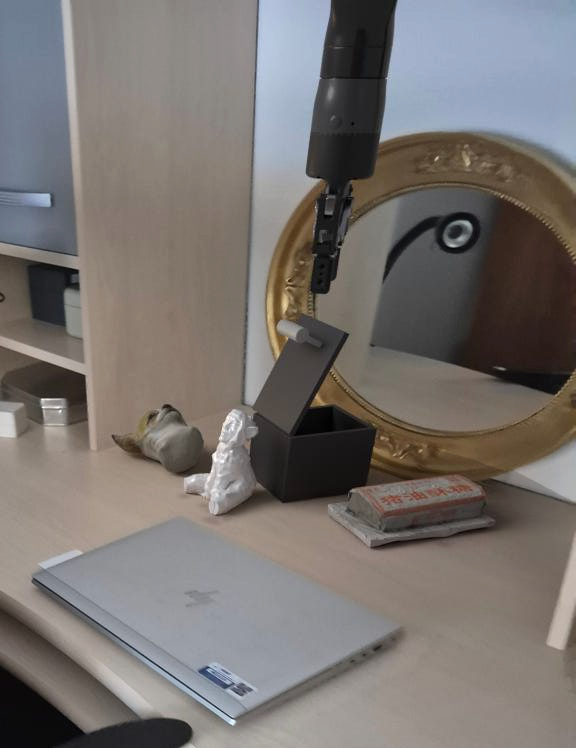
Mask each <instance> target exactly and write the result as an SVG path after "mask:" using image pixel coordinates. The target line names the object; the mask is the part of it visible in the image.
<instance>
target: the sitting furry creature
mask: <svg viewBox="0 0 576 748" xmlns="http://www.w3.org/2000/svg"><path fill="white" fill-rule="evenodd" d="M255 424H256V423H255V422H253V416H251V415H249V414H247V413H246V412H244V411H243V410H238V409H237V408H234V409H232V410H231V411H230V412H229V413H228V414H227V416H225V421H224V422H223V423H222V428H221V431H220V436H219V437H218V441H219V443H218V445H217V446H216V451H214V452H213V453H212V455H211V457H212V459H211V460H212V465H211V470H210V472H208V473H206V472H205V473H194V474H192V475H189V476H187V477H184V478H183V490H184V492H185V493H186V494H197V495H199V496H201V497H203V498H204V499H205V500H207V501H209V502H208V510H209V513H210V514H211V515H213V516H217V515H218V516H219V515H222V514H227V513H228V511H231V510H232V509H234V508H236V507H238V506H239V505H241V504H242V503H243V502H245V501H247V500H248V499H249V498H250V497H252V496H253V492H254V490H255V489H256V486H257V484H258V482H257V480H256V477H255V473H254V472H253V468H252V467H251V463H250V456H249V450H248V449H247V447H246V446H245V445H247V444H248V443H249V442H251V438H253V437H255V435H257V434H258V427H255Z"/></svg>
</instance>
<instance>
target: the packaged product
mask: <svg viewBox="0 0 576 748" xmlns="http://www.w3.org/2000/svg"><path fill="white" fill-rule="evenodd" d="M486 496H487V493H486V492H485V490H484V488H483V487H482V486H481V485H480V484H477V483H476V482H473V481H472V480H470V479H469V478H467V477H465V476H463V475H461V474H457V473H456V474H447V475H439V476H432V477H423V478H417V479H409V480H402V481H396V482H395V481H394V482H388V483H381V484H373V485H366V486H365V487H358V488H354V489H352V490H351V491H349V493H348V494H347V501H344V502H343V501H342V502H337V503H336V502H335V503H328V504H327V515H328V516H329V517H330V518H331V519H333V520H334V521H336V522H337V523H338V524H340V525H341V526H343V527H344V528H345V529H347V530H348V531H349V532H351V533H352V534H354V535H355V536H356V537H357V538H358V539H359V540H361V541H362V542H363V543H364V544H365V545H366V546H367V547H368V548H373V547H378V546H381V545H386V544H389V543H392V542H404V541H411V540H418V539H419V540H420V539H426V538H427V539H429V538H447V537H450V536H453V535H454V534H457V533H460V532H465V531H466V532H467V531H470V530H475V529H481V528H491V527H493V526H495V524H496V520H495V519H494V518H492V517H490V516H488V515H487V514H485V513H483V512H484V511H485V510H486V508H487V505H488V504H487V500H486Z"/></svg>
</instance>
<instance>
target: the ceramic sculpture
mask: <svg viewBox="0 0 576 748" xmlns="http://www.w3.org/2000/svg"><path fill="white" fill-rule="evenodd" d="M110 436H111V439H112V441H113V442H114V443H115V445H117V446H118V447H119V448H120V449H122V450H123V451H124V452H127V453H129V454H142V455H144V456H146V457H148V458H149V459H152V460H154V461H157V462H160V464H161V465H162V467H163V468H164V469H165V470H166V471H167V472H172V473H173V472H174V473H184V472H187V470H189V469H191V468H193V467H194V466H196V465H197V463H198V462H199V461H200V458H201V457H202V454H203V449H204V444H205V440H204V439H203V438H204V437H203V435H202V432H201V431H200V430H199V428H198V427H197V426H193V425H192V426H190V425H189V426H188V424H187V422H186V420H185V419H184V418H183V414H182V413H181V412H180V410H179V409H177V408H175V407H173V405H172V404H169V403H165V404H163V405H162V407H161V408H157V409H152V410H149V411H147V412H146V413H145V414H143V415H142V416H141V418H140V419H139V421H138V425H137V429H136V431H135V433H134V432H128V433H124V434H122V435H119V434H111V435H110Z"/></svg>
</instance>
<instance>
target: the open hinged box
mask: <svg viewBox="0 0 576 748" xmlns="http://www.w3.org/2000/svg"><path fill="white" fill-rule="evenodd" d="M252 419H253V422H255V423H256V424H255V427H258V434H257V435H255V437H253V438H251V439H250V444H249V452H248V454H249V456H250V463H251V467H252V468H253V472H254V473H255V477H256V480H257V484H260V486H262V487H263V488H264V489H265V490H266V491H268V492H269V493H270V494H271V495H272V496H273V497H275V498H276V499H277V500H278V501H280V502H281V503H282V504H285V503H291V502H298V501H304V500H311V499H318V498H326V497H327V498H328V497H333V496H341V495H348V493H349V491H351V490H352V489H354V488H358V487H365V486H367V484H368V478H369V474H370V468H371V464H372V458H373V457H372V456H373V452H374V447H375V441H376V437H377V432H378V428H376V427H375V426H374V425H372V424H370V423H368V422H366V421H365V420H363V419H362V418H359V417H358V416H357V415H354V414H353V413H351V412H349V411H348V410H345V409H344V408H342V407H340V406H339V405H336V404H335V403H333V404H324V405H313V406H310V407H309V409H308V411H307V413H306V415H305V416H304V418H303V420H302V422H301V424H300V425H299V427H298V429H297V431H296V433H295V435H294V436H292V435H289V434H288V433H286V432H285V431H284V430H282V429H281V428H279V427H278V426H276V425H275V424H273V423H272V422H270V421H269V420H268V419H266V418H265V417H263V416H262V415H260V414H259V413H257V412H253V415H252Z"/></svg>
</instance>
